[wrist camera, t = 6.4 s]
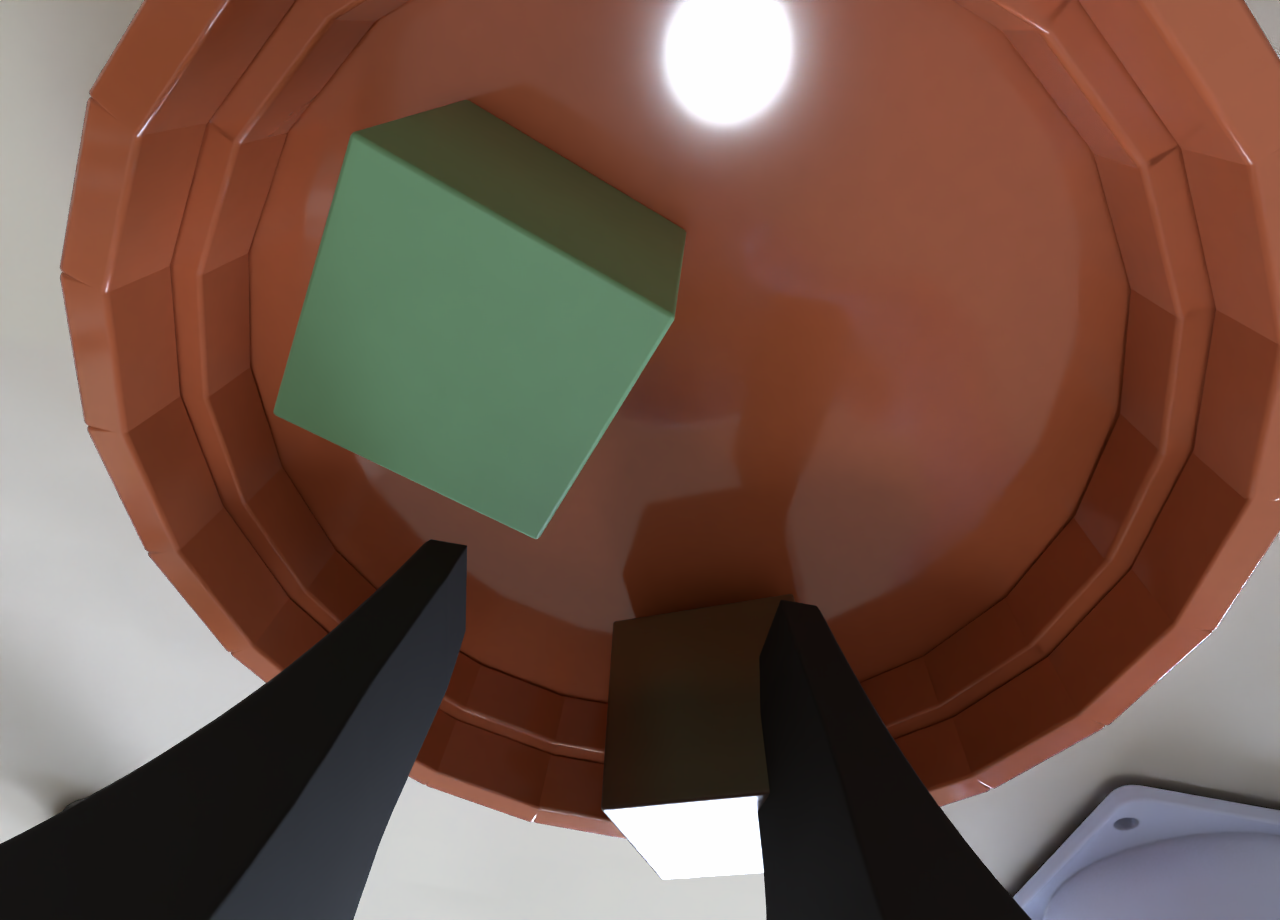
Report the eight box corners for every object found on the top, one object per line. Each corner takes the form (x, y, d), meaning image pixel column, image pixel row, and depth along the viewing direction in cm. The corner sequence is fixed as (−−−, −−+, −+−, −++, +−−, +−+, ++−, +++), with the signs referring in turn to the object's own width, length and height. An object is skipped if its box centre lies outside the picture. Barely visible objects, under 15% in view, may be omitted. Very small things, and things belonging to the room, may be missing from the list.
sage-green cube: (582, 412, 12) (537, 543, 9) (388, 310, 11) (269, 415, 8) (688, 230, 10) (677, 316, 7) (465, 97, 9) (348, 130, 6)
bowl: (937, 770, 17) (977, 904, 14) (274, 651, 17) (196, 763, 14) (1482, -45, 8) (1838, -78, 5) (85, -308, 8) (-214, -468, 5)
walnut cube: (817, 687, 15) (849, 867, 12) (662, 706, 16) (661, 880, 13) (792, 592, 13) (826, 788, 10) (612, 620, 13) (599, 809, 11)
